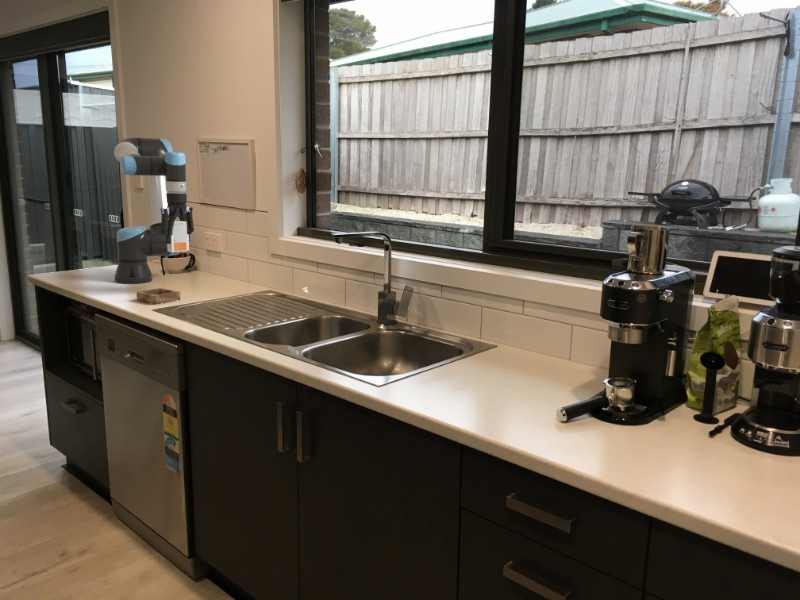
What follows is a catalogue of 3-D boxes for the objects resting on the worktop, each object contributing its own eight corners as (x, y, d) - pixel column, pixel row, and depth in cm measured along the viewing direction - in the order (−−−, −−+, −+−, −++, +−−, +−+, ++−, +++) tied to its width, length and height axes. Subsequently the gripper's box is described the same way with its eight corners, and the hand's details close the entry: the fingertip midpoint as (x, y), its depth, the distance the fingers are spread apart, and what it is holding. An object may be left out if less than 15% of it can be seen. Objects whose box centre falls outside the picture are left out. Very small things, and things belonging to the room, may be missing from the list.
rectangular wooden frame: (137, 300, 241) (136, 292, 241) (161, 296, 250) (161, 287, 250) (155, 304, 236) (155, 296, 235) (180, 300, 245) (180, 291, 244)
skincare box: (172, 252, 251) (171, 222, 249) (168, 251, 254) (167, 221, 252) (187, 251, 255) (186, 221, 252) (183, 250, 258) (182, 220, 256)
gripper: (161, 193, 239) (163, 254, 244) (202, 192, 256) (204, 249, 261) (148, 192, 243) (151, 252, 248) (190, 191, 260) (191, 247, 265)
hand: (178, 250), depth 254 cm, fingers closed on skincare box, 7 cm apart
